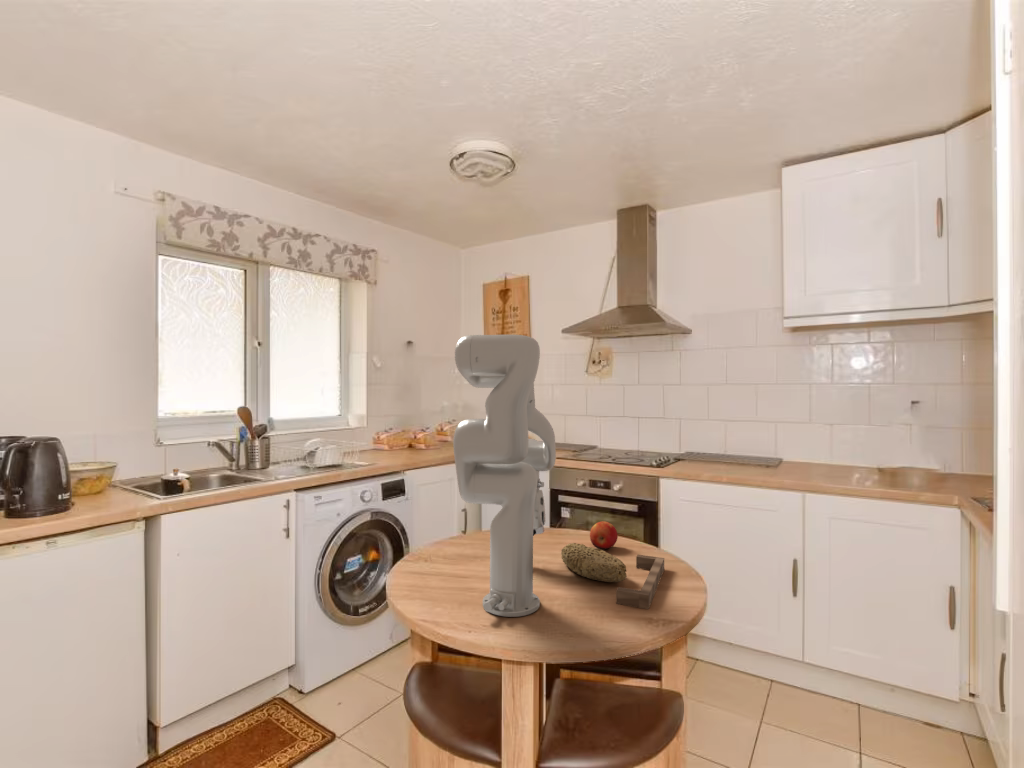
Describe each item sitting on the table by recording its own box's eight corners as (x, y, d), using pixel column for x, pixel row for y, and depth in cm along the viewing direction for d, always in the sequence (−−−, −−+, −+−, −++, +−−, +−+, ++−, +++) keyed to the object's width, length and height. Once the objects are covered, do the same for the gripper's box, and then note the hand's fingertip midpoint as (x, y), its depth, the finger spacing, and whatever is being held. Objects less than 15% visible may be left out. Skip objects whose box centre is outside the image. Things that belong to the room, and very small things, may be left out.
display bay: (648, 609, 110) (648, 595, 110) (616, 603, 113) (616, 590, 113) (664, 569, 135) (664, 558, 135) (637, 565, 138) (637, 554, 138)
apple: (620, 547, 154) (620, 521, 154) (610, 555, 147) (610, 527, 147) (596, 543, 158) (596, 517, 158) (585, 550, 151) (585, 523, 151)
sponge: (555, 569, 139) (579, 580, 120) (559, 539, 141) (583, 546, 121) (601, 575, 141) (631, 587, 122) (604, 546, 143) (634, 553, 124)
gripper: (556, 484, 137) (555, 552, 137) (505, 480, 143) (505, 545, 143) (546, 489, 131) (546, 561, 130) (494, 485, 136) (493, 553, 136)
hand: (524, 553), depth 137 cm, fingers closed
